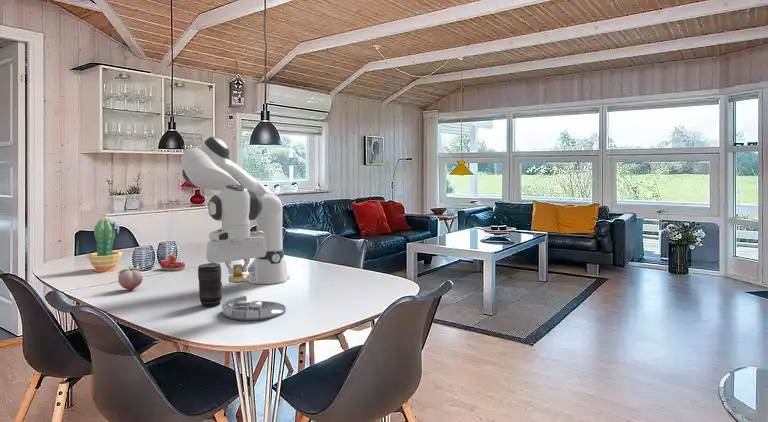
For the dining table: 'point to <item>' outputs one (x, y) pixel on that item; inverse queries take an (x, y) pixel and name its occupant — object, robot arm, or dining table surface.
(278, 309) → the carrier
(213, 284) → the camera lens
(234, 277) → the planet gear
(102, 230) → the potted cactus
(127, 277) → the decorative fruit
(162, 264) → the toy boat
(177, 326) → the dining table surface
